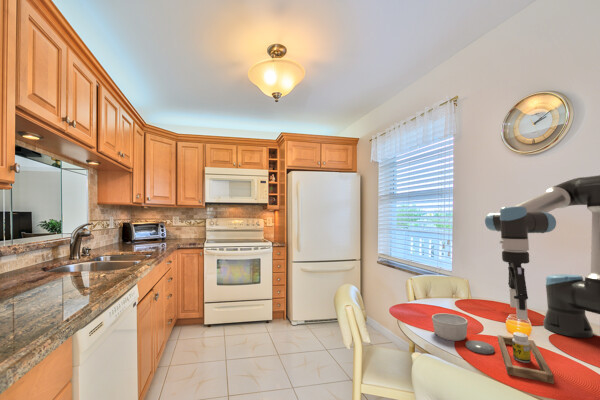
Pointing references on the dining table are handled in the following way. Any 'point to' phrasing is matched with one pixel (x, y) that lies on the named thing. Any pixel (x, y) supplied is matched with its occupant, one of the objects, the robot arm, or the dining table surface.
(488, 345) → the coaster
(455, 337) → the ramekin
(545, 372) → the wooden frame
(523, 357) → the supplement bottle
